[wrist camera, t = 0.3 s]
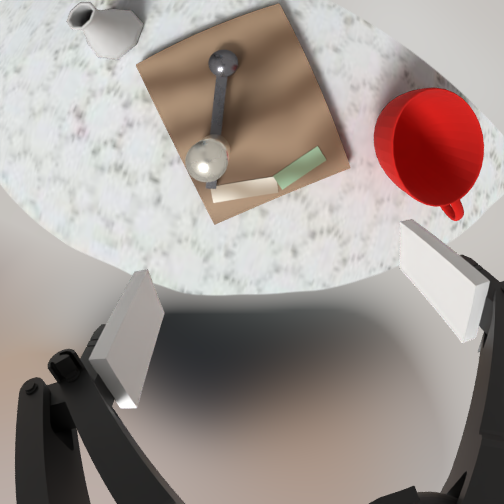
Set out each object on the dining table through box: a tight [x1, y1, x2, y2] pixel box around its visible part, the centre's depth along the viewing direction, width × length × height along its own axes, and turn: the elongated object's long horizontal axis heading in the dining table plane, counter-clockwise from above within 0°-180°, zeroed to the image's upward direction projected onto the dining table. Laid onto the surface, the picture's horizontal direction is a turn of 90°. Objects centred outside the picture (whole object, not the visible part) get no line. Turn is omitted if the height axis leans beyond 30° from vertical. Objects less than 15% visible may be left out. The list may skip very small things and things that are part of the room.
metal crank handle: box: [185, 50, 238, 189], centre depth 29 cm, size 16×4×10 cm, turn 174°
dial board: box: [136, 3, 350, 225], centre depth 34 cm, size 22×18×2 cm
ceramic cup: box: [374, 88, 484, 221], centre depth 33 cm, size 13×17×10 cm
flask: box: [66, 2, 144, 60], centre depth 25 cm, size 7×7×10 cm
